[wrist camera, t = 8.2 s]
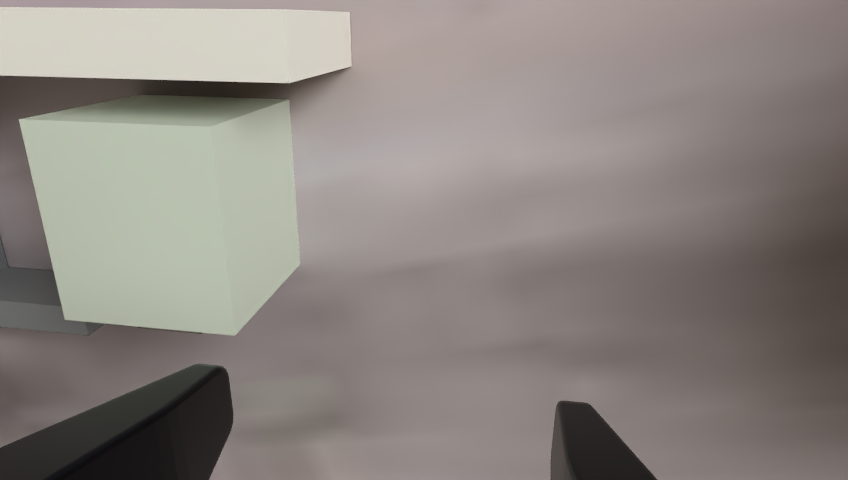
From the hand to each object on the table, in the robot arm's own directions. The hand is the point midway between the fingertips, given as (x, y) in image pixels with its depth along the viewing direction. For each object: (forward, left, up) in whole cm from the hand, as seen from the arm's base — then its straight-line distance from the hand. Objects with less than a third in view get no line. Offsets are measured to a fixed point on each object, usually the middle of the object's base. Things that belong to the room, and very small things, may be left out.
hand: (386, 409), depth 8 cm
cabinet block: (0, +8, -11) cm, 14 cm away
